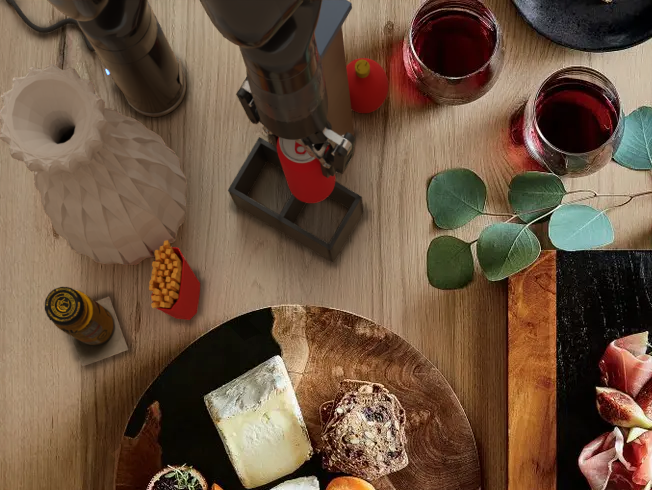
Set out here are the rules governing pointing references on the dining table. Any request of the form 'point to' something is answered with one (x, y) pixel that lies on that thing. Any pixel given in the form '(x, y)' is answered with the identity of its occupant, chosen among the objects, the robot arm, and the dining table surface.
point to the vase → (94, 167)
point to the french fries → (173, 284)
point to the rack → (292, 204)
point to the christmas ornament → (366, 85)
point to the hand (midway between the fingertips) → (305, 155)
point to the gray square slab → (330, 22)
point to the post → (338, 87)
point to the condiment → (86, 323)
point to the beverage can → (303, 172)
